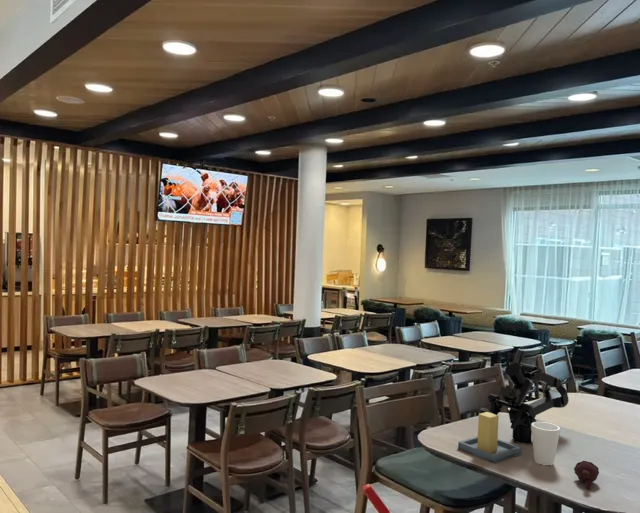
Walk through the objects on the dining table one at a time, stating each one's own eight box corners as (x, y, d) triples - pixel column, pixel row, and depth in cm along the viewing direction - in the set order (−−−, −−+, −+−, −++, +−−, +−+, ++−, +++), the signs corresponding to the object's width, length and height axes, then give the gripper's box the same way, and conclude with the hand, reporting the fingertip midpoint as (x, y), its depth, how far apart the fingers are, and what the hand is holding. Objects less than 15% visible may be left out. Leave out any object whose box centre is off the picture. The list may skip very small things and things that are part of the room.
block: (485, 445, 202) (487, 411, 201) (497, 450, 198) (498, 415, 197) (477, 448, 199) (478, 413, 199) (488, 453, 195) (490, 417, 195)
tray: (485, 440, 210) (485, 434, 210) (521, 454, 197) (521, 447, 197) (458, 448, 201) (458, 441, 201) (494, 463, 188) (494, 456, 188)
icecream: (572, 452, 184) (571, 471, 171) (595, 451, 181) (597, 471, 168) (576, 471, 184) (576, 493, 171) (600, 471, 181) (602, 492, 167)
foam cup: (561, 469, 185) (562, 431, 185) (532, 466, 187) (534, 429, 187) (554, 458, 194) (556, 423, 194) (527, 455, 196) (529, 420, 196)
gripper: (490, 373, 213) (471, 405, 207) (532, 384, 198) (513, 419, 192) (501, 390, 218) (483, 421, 212) (544, 402, 203) (525, 436, 196)
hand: (500, 424), depth 203 cm, fingers open, 9 cm apart
